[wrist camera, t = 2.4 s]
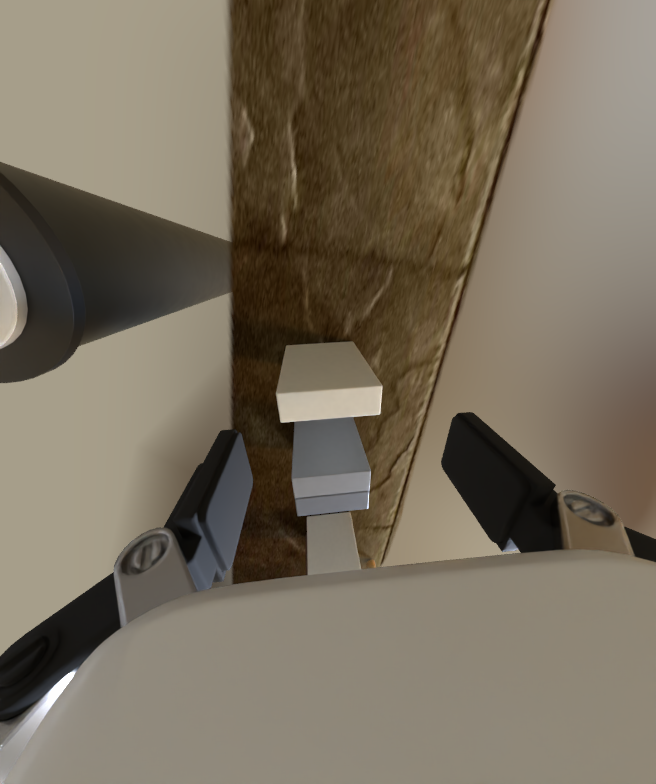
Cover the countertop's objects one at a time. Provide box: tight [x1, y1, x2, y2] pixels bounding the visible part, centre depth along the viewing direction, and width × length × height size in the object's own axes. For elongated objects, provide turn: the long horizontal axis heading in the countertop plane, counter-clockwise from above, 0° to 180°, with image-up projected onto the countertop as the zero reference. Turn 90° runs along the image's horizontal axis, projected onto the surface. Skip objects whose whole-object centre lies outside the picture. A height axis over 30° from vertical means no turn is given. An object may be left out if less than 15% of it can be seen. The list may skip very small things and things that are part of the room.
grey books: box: [292, 417, 371, 516], centre depth 22 cm, size 6×4×8 cm
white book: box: [276, 341, 382, 423], centre depth 17 cm, size 6×2×9 cm, turn 92°
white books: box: [305, 512, 361, 575], centre depth 29 cm, size 7×5×10 cm
